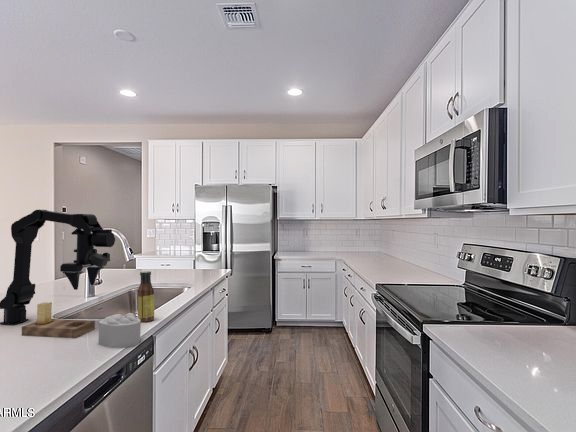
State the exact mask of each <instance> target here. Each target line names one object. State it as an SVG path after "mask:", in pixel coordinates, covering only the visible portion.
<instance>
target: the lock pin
mask: <svg viewBox="0 0 576 432" xmlns="http://www.w3.org/2000/svg"><path fill="white" fill-rule="evenodd" d="M52 305H53V304H52V302H41V303H38V304H37V305H36V306H37V307H36V321H37V325H46V324H49V323H51V319H52V307H53V306H52Z"/></svg>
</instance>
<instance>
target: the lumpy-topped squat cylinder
mask: <svg viewBox="0 0 576 432" xmlns="http://www.w3.org/2000/svg"><path fill="white" fill-rule="evenodd" d="M141 324H142V322H141V320H140V319H139V318H138V316H135V314H134V313H132V312H129V313H126V314H125V315H123V314H122V313H121V314H120V313H116V314H113V315H109V316H107V317H105V318H103V319H102V320H101V319H100V321H98V345H99V346H103V347H105V348H107V347H108V348H117V349H118V348H128V347H135V346H137V345H139V344H140V343H141V328H142V327H141Z"/></svg>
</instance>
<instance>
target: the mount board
mask: <svg viewBox="0 0 576 432" xmlns="http://www.w3.org/2000/svg"><path fill="white" fill-rule="evenodd" d="M95 327H96V321H95V320H84V319H62V318H51V323H49V324H46V325H37V320H36V321H35V322H30V323H29V324H25V325H22V326H21V336H24V337H26V336H27V337H29V336H30V337H48V338H66V339H67V338H69V339H77V338H79V337H81V336H83V335H85V334H87V333H89V332H92V331H94V330H95V329H96V328H95Z"/></svg>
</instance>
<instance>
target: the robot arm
mask: <svg viewBox="0 0 576 432" xmlns="http://www.w3.org/2000/svg"><path fill="white" fill-rule="evenodd" d="M46 221H48V222H54V223H59V224H60V223H61V224H66V225H69V226H71V227H73V228H74V229H75V230H73V231H72V232H71V235H73V236H75V235H76V248H75V249H73V253H76V256H75V257H76V259H74V260H73V262H66V263H65V262H64V263H62V264H61V265H60V268H59V271H60V272H62V274H64V275H65V276H66V278H67V279H68V281H69V282H70V284H71V286H72V288H73V290H75V291H76V290H78V289H79V282H80V276H81V274H83V272H84V271H82V270H83V269H84V268H86V271H87V276H88V281H89V285H91V286H93V285H95V283H96V279H97V277H98V275H99V272H101V270H103V269H104V268H105V267H106V266H107V265H108V262H111V259H110V258H111V254H110V253H109V252H103V253H98V250H97V247H98V248H112V247H113V246H114V245H115V242H116V237H115V234H114V233H113V229H111V228H109V229H103V227H102V226H101V225H100V222H99V221H98V218H97V216H96V215H95V214H92V213H91V214H90V213H65V212H58V211H52V210H47V209H36V210H34V211H32V212H31V213H29V214H27V215H25V216H23V217H21V218H19V219H18V220H16V221H14V222H13V223H12V224H11V226H10V233H11V237H12V239H13V241H14V242H15V251H14V265H13V277H12V281H11V282H10V284H9V286H8V287H7V289H6V292H5V293H6V294H5V296H4V297H3V298H2V299H1V300H0V310H3V321H0V325H10V326H11V325H13V326H14V325H19V324H21V323H24V322H27V321H30V320H29V318H27V309H26V308H27V306H26V305H30V303H31V300H32V299H33V298H34V295H35V294H36V284H35V283H32V281H31V280H30V274H31V273H30V272H31V261H32V260H31V259H32V249H33V248H32V247H33V243H34V241H35V240H36V238H37V237H38V233H39V230H40V229H41V228H42V227H43V226H45V223H46ZM95 247H96V248H95Z"/></svg>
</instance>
